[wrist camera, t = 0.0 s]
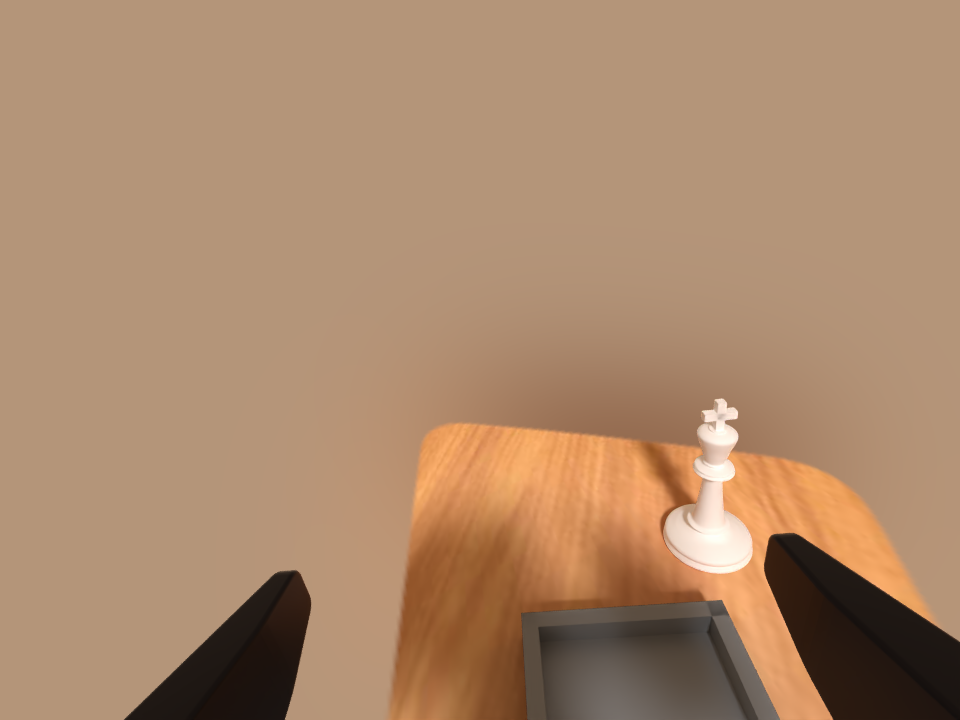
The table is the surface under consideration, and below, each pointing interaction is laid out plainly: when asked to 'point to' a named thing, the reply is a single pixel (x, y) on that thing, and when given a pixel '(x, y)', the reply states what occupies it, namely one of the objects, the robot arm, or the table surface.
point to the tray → (640, 665)
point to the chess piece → (711, 504)
